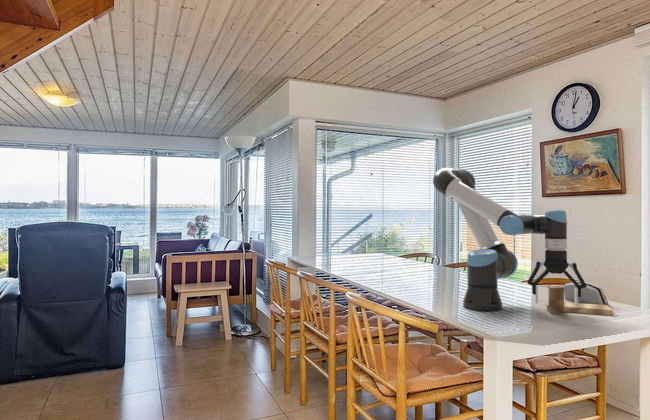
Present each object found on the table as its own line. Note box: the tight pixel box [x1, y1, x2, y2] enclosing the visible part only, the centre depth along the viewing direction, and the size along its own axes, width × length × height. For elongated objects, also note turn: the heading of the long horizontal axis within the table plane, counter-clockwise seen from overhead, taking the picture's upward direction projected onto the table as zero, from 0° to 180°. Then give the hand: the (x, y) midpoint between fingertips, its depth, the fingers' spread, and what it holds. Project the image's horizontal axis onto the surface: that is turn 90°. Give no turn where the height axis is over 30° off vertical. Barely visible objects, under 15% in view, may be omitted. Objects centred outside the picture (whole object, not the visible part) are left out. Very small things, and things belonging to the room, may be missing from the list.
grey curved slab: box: [563, 280, 610, 306], centre depth 185 cm, size 17×5×10 cm, turn 26°
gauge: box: [547, 285, 565, 315], centre depth 172 cm, size 5×15×10 cm, turn 157°
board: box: [544, 300, 613, 316], centre depth 170 cm, size 22×9×2 cm, turn 67°
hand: (556, 304), depth 167 cm, fingers open, 13 cm apart
